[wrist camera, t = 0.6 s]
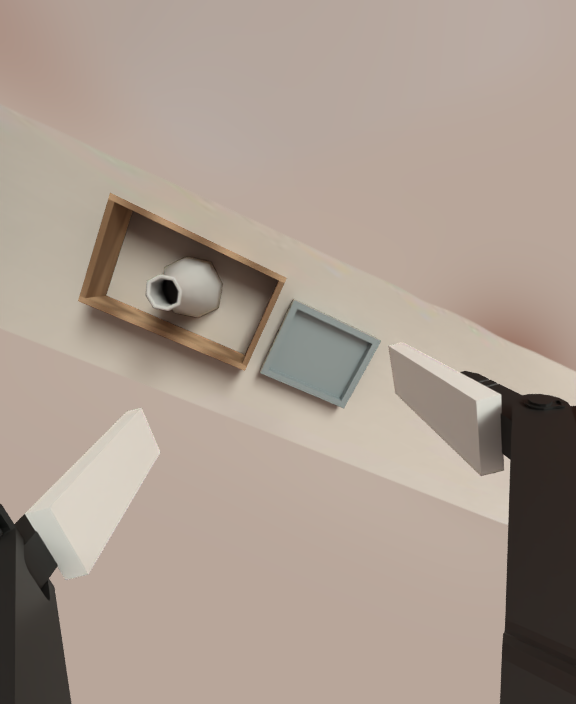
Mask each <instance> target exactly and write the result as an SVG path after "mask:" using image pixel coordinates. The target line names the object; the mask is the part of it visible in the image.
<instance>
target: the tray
mask: <svg viewBox="0 0 576 704" xmlns="http://www.w3.org/2000/svg"><path fill="white" fill-rule="evenodd" d="M380 342H381V340H379V339H377V338H376V337H373V336H371V335H369V334H367V333H365V332H363V331H361V330H359V329H357V328H354V327H352V326H350V325H348V324H346V323H344V322H342V321H340V320H337V319H335V318H333V317H331V316H329V315H327V314H325V313H323V312H321V311H318V310H316V309H314V308H312V307H310V306H308V305H306V304H304V303H301V302H299V301H297V300H295V299H293V300H292V302H291V305H290V307H289V309H288V311H287V313H286V315H285V318H284V320H283V322H282V324H281V326H280V328H279V330H278V333H277V335H276V337H275V339H274V341H273V343H272V346H271V348H270V350H269V352H268V354H267V356H266V358H265V361H264V363H263V365H262V367H261V371H260V373H261V374H263V375H266V376H268V377H271V378H273V379H275V380H278V381H280V382H282V383H285V384H287V385H290V386H292V387H294V388H297V389H299V390H301V391H304V392H306V393H309V394H311V395H313V396H316V397H318V398H320V399H323V400H325V401H328V402H330V403H332V404H335V405H337V406H339V407H342V408H344V407H345V406H346V404H347V402H348V400H349V398H350V397H351V395H352V393H353V391H354V389H355V387H356V386H357V384H358V382H359V380H360V378H361V377H362V375H363V373H364V371H365V369H366V368H367V366H368V364H369V362H370V360H371V359H372V357H373V355H374V353H375V351H376V349H377V348H378V346H379V344H380Z"/></svg>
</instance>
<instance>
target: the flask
mask: <svg viewBox="0 0 576 704" xmlns="http://www.w3.org/2000/svg"><path fill="white" fill-rule="evenodd" d="M221 291H222V282H221V280H220V278H219V276H218V274H217V273H216V271H215V269H214V267H213V265H212V263H211V262H210V261H205V260H201V259H196V258H192V257H187V256H186V257H184V258H182V259H180V260H178V261H176V262H174V263H172V264H170V265H168V266H166V267H165V268H164V275H162V274H159V275H157V276H155V277H153V278H151V279H149V280H147V286H146V297H147V298H148V300H149V302H150V303H151V305H152V307H153V308H155V309H160V310H166V311H169V310H171V309H172V310H173V311H174V313H177V314H183V315H188V316H193V317H198V318H199V317H201V316H203V315H205V314H207V313H209V312H211V311H213V310H215V309H217V308H219V304H220V298H221Z"/></svg>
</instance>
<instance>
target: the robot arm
mask: <svg viewBox="0 0 576 704" xmlns="http://www.w3.org/2000/svg"><path fill="white" fill-rule="evenodd" d="M388 347H389V354H390V360H391V367H392V374H393V381H394V387H395V394H397V395H398V396H399V397H400V398H401V399H402V400H403V401H404V402H405V403H406V404H407V405H408V406H409V407H410V408H411V409H412V410H413V411H414V412H415V413H416V414H417V415H418V416H419V417H420V418H421V419H422V420H423V421H424V422H426V423H427V424H428V425H429V426H430V427H431V428H432V429H433V430H434V431H435V432H436V433H437V434H438V435H439V436H440V437H441V438H442V439H443V440H444V441H445V442H446V443H447V444H448V445H449V446H450V447H451V448H452V449H453V450H455V451H456V452H457V453H458V454H459V455H460V456H461V457H462V458H463V459H464V460H465V461H466V462H467V463H468V464H469V465H470V466H471V467H472V468H473V469H474V470H475V471H476V472H477V473H478V474H479V475H480V476H484V475H488V474H492V473H496V472H500V471H504V457H503V454H504V455H505V456H506V457H508V458H509V459H510V460H511V462H510V493H509V523H508V554H507V586H506V616H505V617H506V618H505V632H504V634H503V645H502V668H501V694H500V704H576V406H570V405H569V404H568V402H566V401H564V400H562V399H560V398H557V397H554V396H550V395H543V394H527V395H520V394H518V393H516V392H514V391H512V390H510V389H508V388H506V387H504V386H502V385H500V384H497V383H496V382H494V381H492V380H489V379H488V378H486V377H484V376H482V375H480V374H477V373H472V372H468V371H463V372H458V371H456V370H454V369H452V368H450V367H449V366H447V365H445V364H443V363H441V362H439V361H437V360H435V359H434V358H432V357H430V356H428V355H426V354H424V353H422V352H420V351H419V350H417V349H415V348H413V347H411V346H409V345H407V344H405V343H404V342H401V343H397V344H393V345H389V346H388ZM159 454H160V450H159V448H158V445H157V443H156V441H155V438H154V436H153V434H152V431H151V429H150V426H149V424H148V422H147V419H146V417H145V415H144V412H143V410H142V408H138V409H134V410H130V411H127V412H126V413H125V414H124V415H123V416H122V417H121V418H120V419H119V420H118V421H117V422H116V423H115V424H114V425H113V426H112V427H111V428H110V429H109V430H108V431H107V432H106V433H105V434H104V435H103V436H102V437H101V438H100V439H99V440H98V441H97V442H96V443H95V444H94V445H93V446H92V447H91V448H90V449H89V450H88V451H87V452H86V453H85V454H84V455H83V456H82V457H81V458H80V459H79V460H78V461H77V462H76V463H75V464H74V465H73V466H72V467H71V468H70V469H69V470H68V471H67V472H66V473H65V474H64V475H63V476H62V477H61V478H60V479H59V480H58V481H57V482H56V483H55V484H54V485H53V486H52V487H51V488H50V489H49V490H48V491H47V492H46V493H45V494H44V495H43V496H42V497H41V498H40V499H39V500H38V501H37V502H36V503H35V504H34V505H33V506H32V507H31V508H30V509H29V510H28V511H27V512H26V513H25V514H24V515H23V516H22V517H21V518H20V519H19V520H18V521H17V522H16V523H15V524H14V523H13V522H12V520H11V519H10V517H9V516H8V514H7V512H6V511H5V509H4V508H3V506H2V505H1V504H0V704H71V698H70V691H69V684H68V677H67V671H66V665H65V657H64V650H63V644H62V637H61V630H60V623H59V617H58V610H57V602H56V595H55V589H54V586H53V584H52V583H51V581H50V580H49V577H50V576H51V575H52V573H53V572H54V570H55V569H56V567H58V568H59V570H60V572H61V573H62V575H63V577H64V578H65V580H68V579H72V578H76V577H80V576H84V575H88V574H89V573H90V571H91V569H92V567H93V566H94V564H95V562H96V561H97V559H98V557H99V556H100V554H101V552H102V551H103V549H104V547H105V545H106V544H107V542H108V540H109V539H110V537H111V535H112V534H113V532H114V530H115V529H116V527H117V525H118V524H119V522H120V520H121V518H122V517H123V515H124V513H125V511H126V510H127V508H128V506H129V505H130V503H131V501H132V500H133V498H134V496H135V495H136V493H137V491H138V489H139V488H140V486H141V484H142V482H143V481H144V479H145V477H146V476H147V474H148V473H149V471H150V469H151V467H152V466H153V464H154V462H155V461H156V459H157V457H158V456H159Z"/></svg>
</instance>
